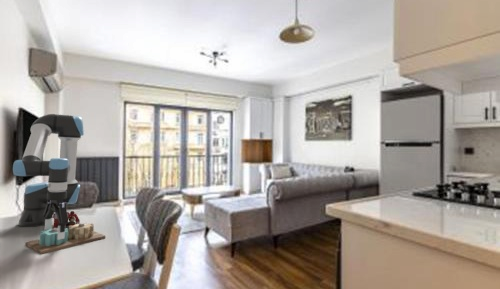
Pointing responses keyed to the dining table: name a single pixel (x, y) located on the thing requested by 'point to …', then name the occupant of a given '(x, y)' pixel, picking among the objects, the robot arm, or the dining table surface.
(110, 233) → the dining table surface
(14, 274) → the dining table surface
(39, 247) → the gear board
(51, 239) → the teal gear
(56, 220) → the toy fire truck
